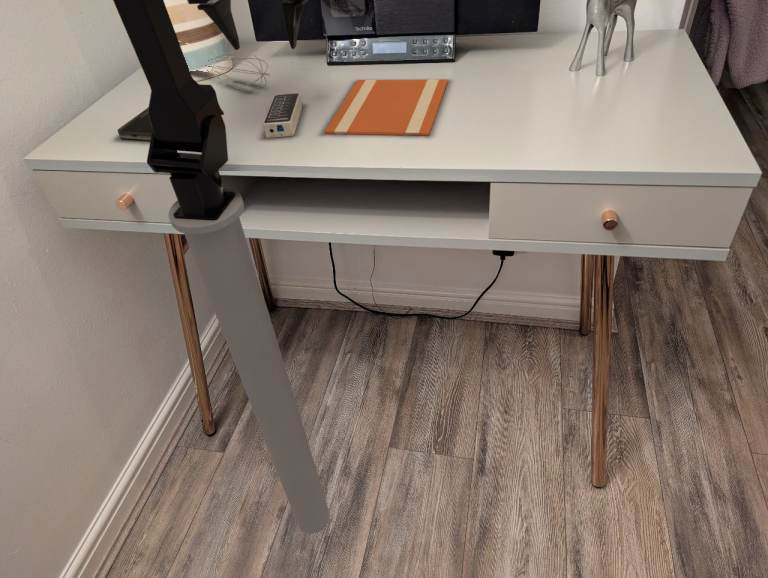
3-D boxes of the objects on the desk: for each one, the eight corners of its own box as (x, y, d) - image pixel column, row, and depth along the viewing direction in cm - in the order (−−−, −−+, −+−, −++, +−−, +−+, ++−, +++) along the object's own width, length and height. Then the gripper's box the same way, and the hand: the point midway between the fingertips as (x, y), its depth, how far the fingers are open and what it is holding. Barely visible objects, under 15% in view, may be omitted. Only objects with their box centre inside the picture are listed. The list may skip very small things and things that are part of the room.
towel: (428, 135, 84) (428, 132, 84) (325, 133, 88) (324, 131, 87) (447, 81, 99) (447, 79, 98) (358, 82, 102) (357, 79, 102)
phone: (204, 95, 101) (154, 134, 90) (206, 101, 101) (157, 141, 91) (166, 93, 103) (113, 131, 92) (168, 99, 104) (116, 138, 93)
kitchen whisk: (173, 58, 121) (163, 27, 117) (281, 88, 104) (273, 52, 100) (148, 68, 118) (136, 36, 114) (255, 101, 100) (246, 64, 96)
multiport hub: (302, 106, 96) (300, 92, 95) (293, 135, 88) (290, 121, 87) (276, 108, 97) (273, 94, 95) (265, 138, 88) (262, 124, 87)
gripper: (323, -86, 82) (338, 30, 92) (203, -77, 86) (230, 33, 96) (298, -71, 73) (317, 54, 83) (167, -63, 77) (201, 56, 87)
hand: (265, 48), depth 88 cm, fingers open, 9 cm apart
